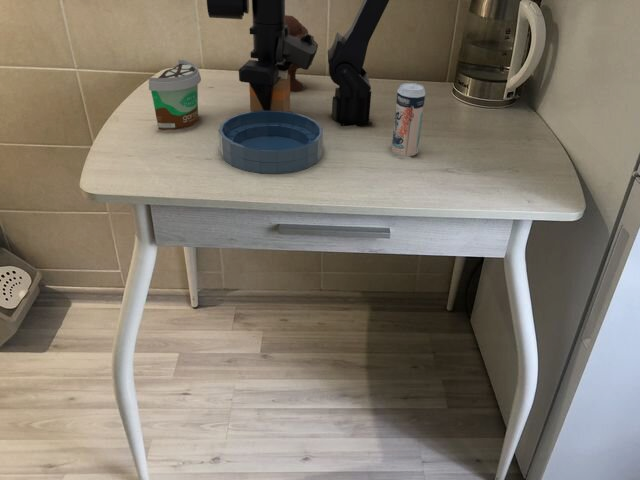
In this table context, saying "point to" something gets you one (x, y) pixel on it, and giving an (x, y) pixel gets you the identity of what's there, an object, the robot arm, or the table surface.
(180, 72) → the food container
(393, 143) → the beer can
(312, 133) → the bowl
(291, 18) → the ice cream bowl
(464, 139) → the table surface
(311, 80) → the table surface
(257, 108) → the carton
